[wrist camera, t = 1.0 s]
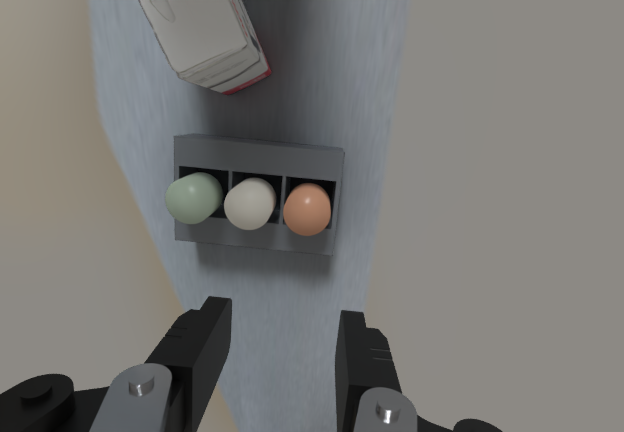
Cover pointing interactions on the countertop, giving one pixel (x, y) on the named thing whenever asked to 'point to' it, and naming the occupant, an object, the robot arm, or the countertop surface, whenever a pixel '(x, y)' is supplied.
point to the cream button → (250, 203)
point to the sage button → (194, 197)
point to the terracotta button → (307, 209)
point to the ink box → (208, 42)
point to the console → (261, 160)
